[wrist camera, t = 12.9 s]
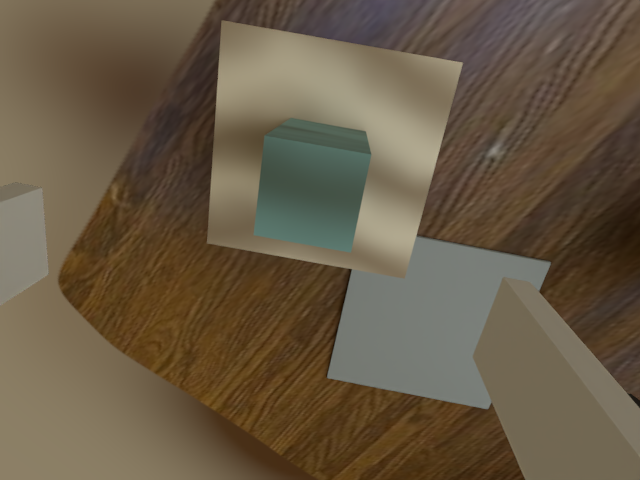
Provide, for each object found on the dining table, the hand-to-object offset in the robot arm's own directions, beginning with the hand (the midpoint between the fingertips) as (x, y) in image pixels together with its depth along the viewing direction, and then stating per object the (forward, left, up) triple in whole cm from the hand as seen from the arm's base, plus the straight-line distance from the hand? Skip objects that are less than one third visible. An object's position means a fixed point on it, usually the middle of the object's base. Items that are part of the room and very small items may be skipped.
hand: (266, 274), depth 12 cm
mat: (-16, -14, -27) cm, 34 cm away
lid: (0, 0, -19) cm, 19 cm away
